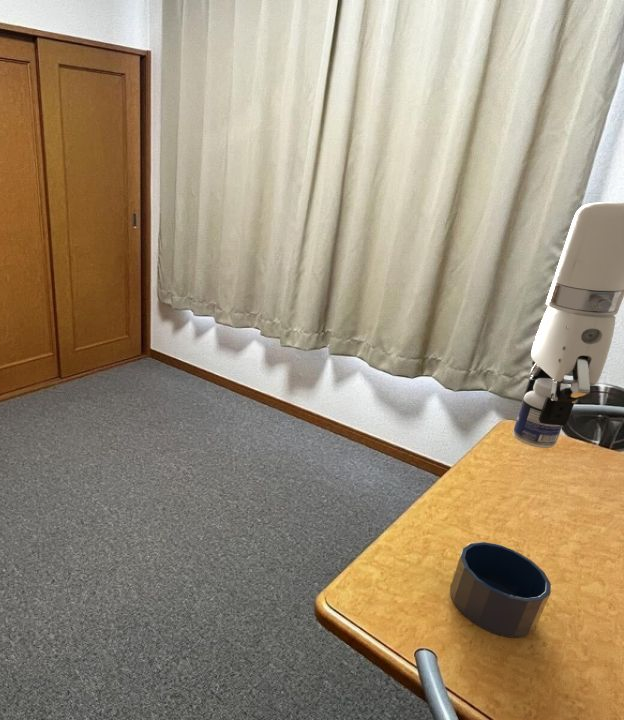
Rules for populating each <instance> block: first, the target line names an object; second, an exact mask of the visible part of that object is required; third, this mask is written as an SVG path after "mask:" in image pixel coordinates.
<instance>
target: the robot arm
mask: <svg viewBox="0 0 624 720" xmlns="http://www.w3.org/2000/svg"><path fill="white" fill-rule="evenodd" d="M561 252H562V253H561V255H560V258H559V261H558V264H557V268H556V271H555V274H554V277H553V280H552V283H551V286H550V289H549V292H548V295H547V298H546V301H545V305H546V306H547V308H546V310H545V312H544V315H543V316H542V319H541V322H540V324H539V327H538V329H537V333H536V334H535V337H534V340H533V342H532V343H533V344H532V347H531V352H530V357H531V359H532V362H531V365H532V368H531V370H530V372H529V374H528V375H529V379H528V381H527V385H526V387H525V391H524V394H523V397H522V399H521V401H522V402H523V399H524V396H525V394H526V393H528V392H530V391H533V387H534V384H535V381H536V380H537V379H539V378H549V379H553V382H552V389H551V395H550V398H548V397H546V400H545V402H544V405H543V408H542V411H541V414H540V416H539V421H540V422H541V423H544V424H552V425H560V426H562V427H564V426H566V425H567V424H568V421H569V418H570V415H571V414H572V411H573V408H574V405H575V404H577V403H578V402H579V401H578V400H579V399H581V398H582V397H584V396H586V395H588V394H589V393H590V392H591V386H595V385H597V384H598V383H599V381H600V379H601V376H602V373H603V370H604V367H605V365H606V361H607V358H608V355H609V352H610V349H611V345H612V341H613V336H614V331H615V327H616V326H615V325H616V315H618V313H619V310H620V307H621V305H622V302H623V300H624V202H609V201H608V202H606V201H604V202H603V201H602V202H601V201H600V202H592V203H587V204H584V205H582V206H580V207H579V208H578V210H577V211H576V212H575V214H574V216H573V219H572V221H571V225H570V228H569V231H568V234H567V237H566V241H565V242H564V247H563V250H562V251H561ZM565 376H567V377H572V379H567V378H565ZM561 384H568V385H570V388H565V389H563V390H561V391H560V388H561Z"/></svg>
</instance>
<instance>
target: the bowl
mask: <svg viewBox="0 0 624 720" xmlns="http://www.w3.org/2000/svg"><path fill="white" fill-rule="evenodd" d="M459 555H460V556H459V559H458V562H457V564H456V567H455V571H454V574H453V577H452V581H451V583H450V587H449V594H450V598H451V600H452V602H453V604H454V606H455V607H456V608H457V610H458V611H459V612H460V613H461V615H463V616H464V617H465V618H466V619H467V620H469V621H470V622H471V623H473V624H474V625H476V626H478V627H479V628H481V629H482V630H485V631H487V632H488V633H491V634H494V635H497V636H499V637H504V638H510V639H518V638H525V637H527V636H529V635H531V634H532V632H534V631H535V630H534V629H535V628H536V627H537V625H538V623H539V620H540V618H541V617H542V614H543V612H544V609H545V607H546V605H547V603H548V600H549V598H550V596H551V591H552V583H551V582H550V580H549V577H548V576H547V575H546V573H545V571H544V570H542V568H540V566H539V565H537V564H536V563H535V562H534V561H533V560H532V559H530V558H528V557H527V556H525V555H523V554H522V553H520V552H518V551H516V550H514V549H512V548H510V547H506V546H503V545H501V544H497V543H492V542H486V541H481V542H470V543H468V544H467V545H465V546H464V547H463V548H462V549H461V552H460V554H459Z"/></svg>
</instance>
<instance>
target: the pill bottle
mask: <svg viewBox="0 0 624 720" xmlns="http://www.w3.org/2000/svg"><path fill="white" fill-rule="evenodd" d="M552 382H553V379H549V378H539V379H537V380H536V381H535V384H534V387H533V391H530V392H528V393H526V394H525V396H524V395H523V396H524V399H523V398H522V399H523V401H522V402H521V405H520V409H519V411H518V414H517V418H516V420H515V424H514V427H513V430H512V435H513V438H514V439H516V440H517V441H519V442H520V443H522V444H524V445H527V446H530V447H534V448H539V449H551V448H553V447H555V446H556V445H557V443H558V439H559V437H560V434H561V431H562V428H563V426H560V425H552V424H544V423H541V422H540V421H539V416H540V414H541V411H542V408H543V405H544V402H545V400H546V397H548V398H550V395H551V389H552ZM570 387H571V385H570V384H561V388H560V391H561V390H563V389H565V388H570Z"/></svg>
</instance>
